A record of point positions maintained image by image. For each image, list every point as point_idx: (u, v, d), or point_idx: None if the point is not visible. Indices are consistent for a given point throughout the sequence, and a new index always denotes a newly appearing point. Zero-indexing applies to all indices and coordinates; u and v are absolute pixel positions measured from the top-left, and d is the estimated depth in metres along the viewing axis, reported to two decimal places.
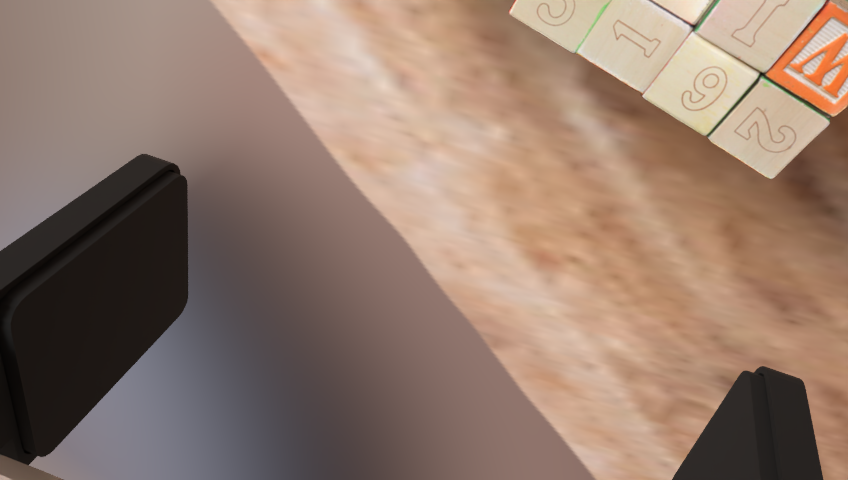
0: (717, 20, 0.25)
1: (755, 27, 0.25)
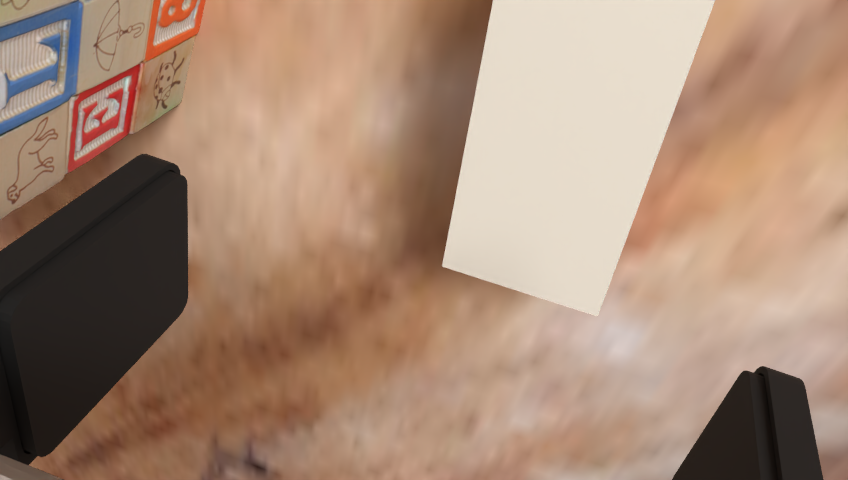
0: None
1: None
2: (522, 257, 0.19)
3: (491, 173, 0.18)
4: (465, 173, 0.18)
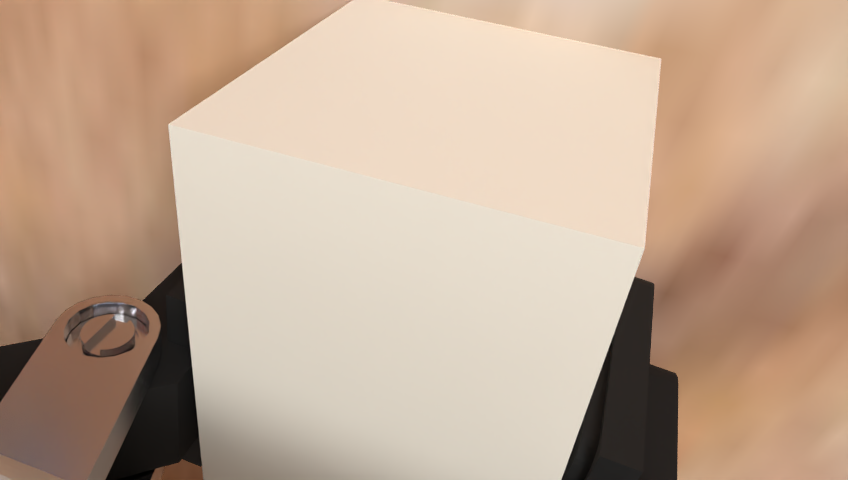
0: None
1: None
2: None
3: None
4: None
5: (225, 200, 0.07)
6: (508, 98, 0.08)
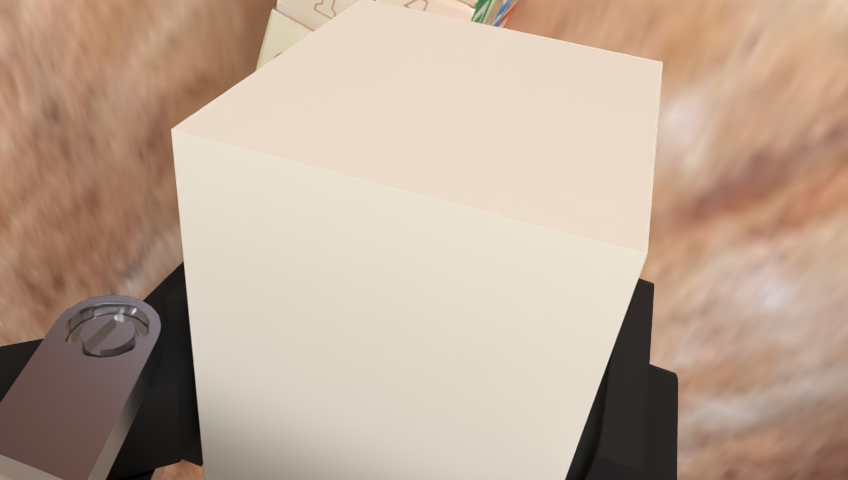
0: None
1: None
2: None
3: None
4: None
5: (228, 205, 0.07)
6: (510, 103, 0.08)
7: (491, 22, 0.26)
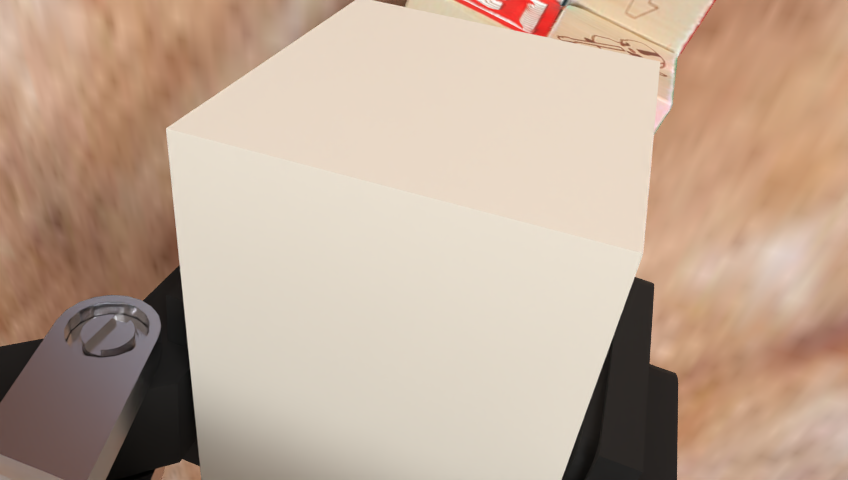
0: None
1: None
2: None
3: None
4: None
5: (223, 204, 0.07)
6: (506, 101, 0.08)
7: None
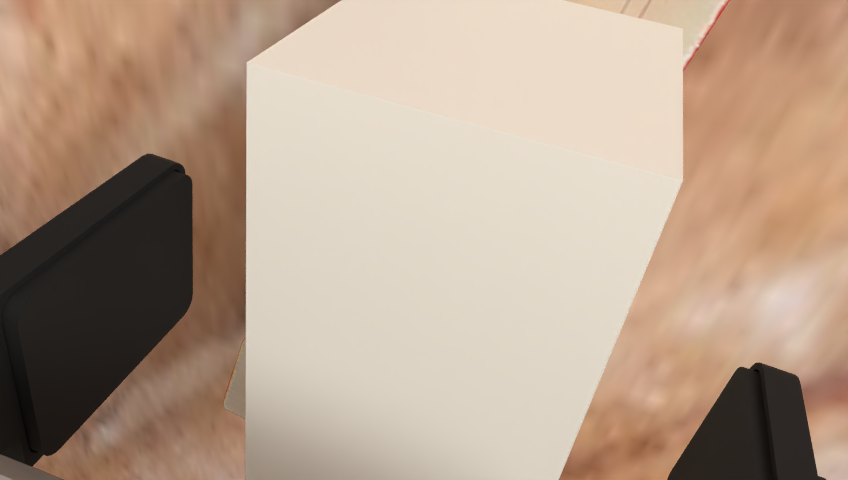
0: None
1: None
2: None
3: (294, 440, 0.11)
4: (254, 434, 0.11)
5: (294, 136, 0.08)
6: (548, 55, 0.09)
7: None
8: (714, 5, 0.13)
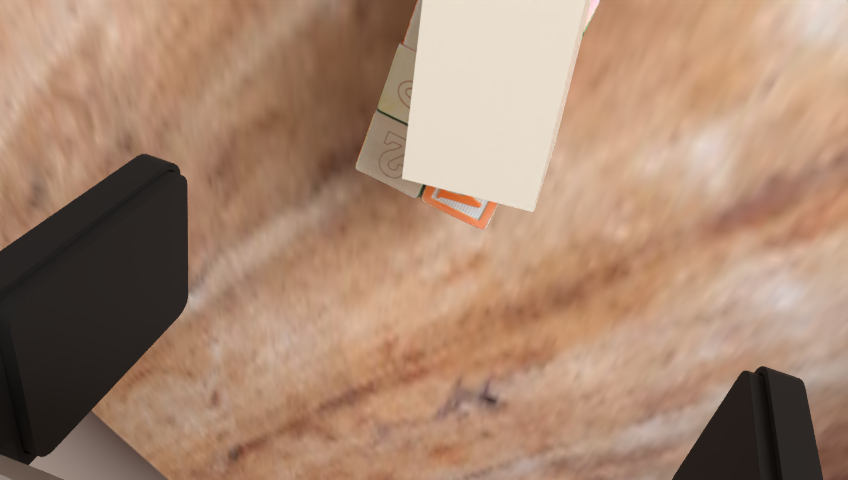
0: None
1: None
2: (468, 164, 0.23)
3: (437, 91, 0.22)
4: (416, 92, 0.22)
5: None
6: None
7: None
8: None
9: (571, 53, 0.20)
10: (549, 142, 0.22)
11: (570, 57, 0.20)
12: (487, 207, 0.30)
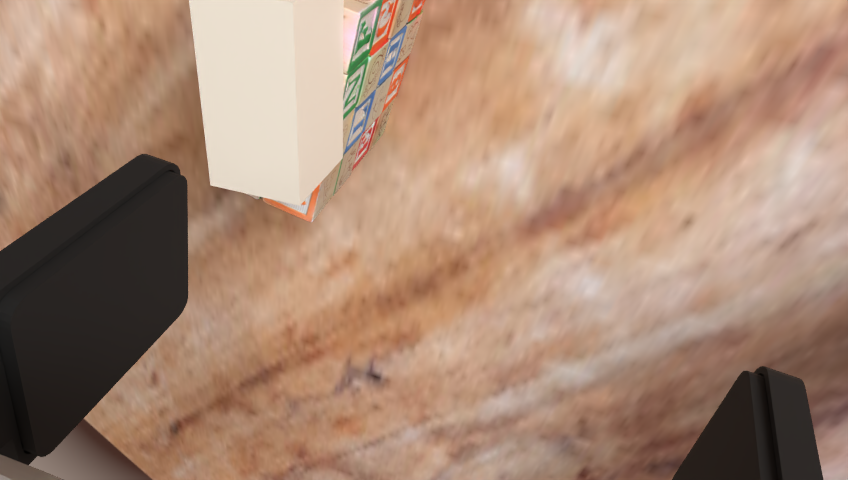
0: None
1: None
2: (250, 173, 0.32)
3: (219, 122, 0.31)
4: (206, 123, 0.31)
5: (202, 5, 0.28)
6: None
7: (376, 75, 0.39)
8: None
9: (295, 93, 0.29)
10: (297, 155, 0.31)
11: (295, 96, 0.29)
12: (310, 204, 0.39)
